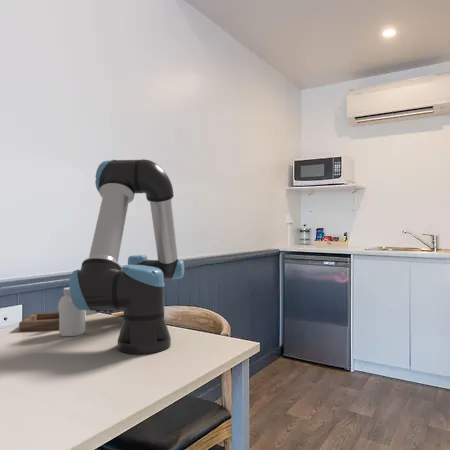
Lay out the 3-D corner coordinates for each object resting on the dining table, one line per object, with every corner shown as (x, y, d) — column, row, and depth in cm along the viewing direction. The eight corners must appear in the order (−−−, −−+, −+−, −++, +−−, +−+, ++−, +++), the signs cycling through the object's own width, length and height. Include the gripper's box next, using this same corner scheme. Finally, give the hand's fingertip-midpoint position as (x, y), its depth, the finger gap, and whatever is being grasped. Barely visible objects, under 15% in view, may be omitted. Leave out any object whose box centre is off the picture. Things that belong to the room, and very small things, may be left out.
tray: (66, 329, 138) (65, 320, 138) (19, 331, 136) (19, 322, 136) (75, 319, 153) (75, 311, 153) (33, 321, 151) (33, 313, 151)
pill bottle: (80, 337, 128) (79, 289, 128) (55, 337, 129) (54, 290, 129) (88, 330, 136) (88, 286, 136) (65, 330, 136) (64, 286, 137)
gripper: (145, 312, 145) (99, 325, 127) (96, 306, 158) (48, 316, 139) (144, 291, 145) (98, 301, 127) (96, 286, 158) (48, 295, 139)
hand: (72, 309), depth 133 cm, fingers open, 13 cm apart
